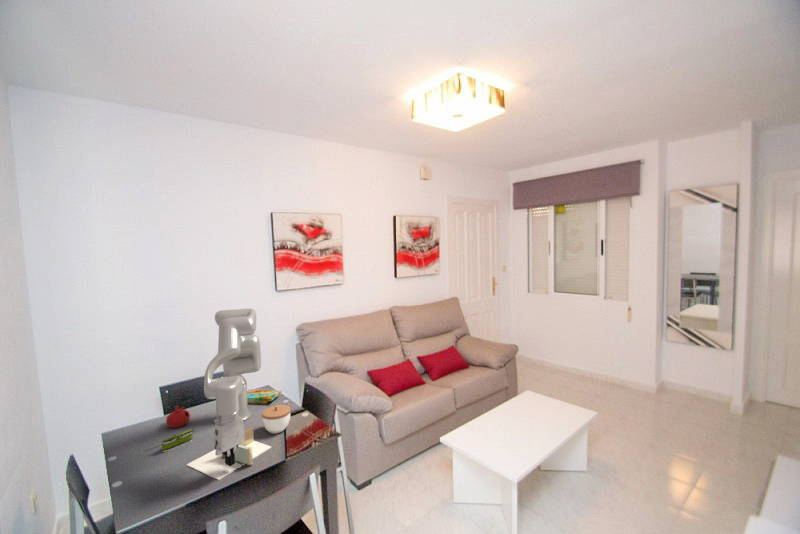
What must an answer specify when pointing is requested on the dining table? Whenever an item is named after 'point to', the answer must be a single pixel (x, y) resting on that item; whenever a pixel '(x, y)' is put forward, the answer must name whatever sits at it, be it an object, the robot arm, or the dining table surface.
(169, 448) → the green slotted rack
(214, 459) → the card
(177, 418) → the red teapot
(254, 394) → the puzzle game
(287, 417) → the lidded bowl
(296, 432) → the dining table surface
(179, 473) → the dining table surface
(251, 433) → the base
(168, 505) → the dining table surface
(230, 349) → the robot arm
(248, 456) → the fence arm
